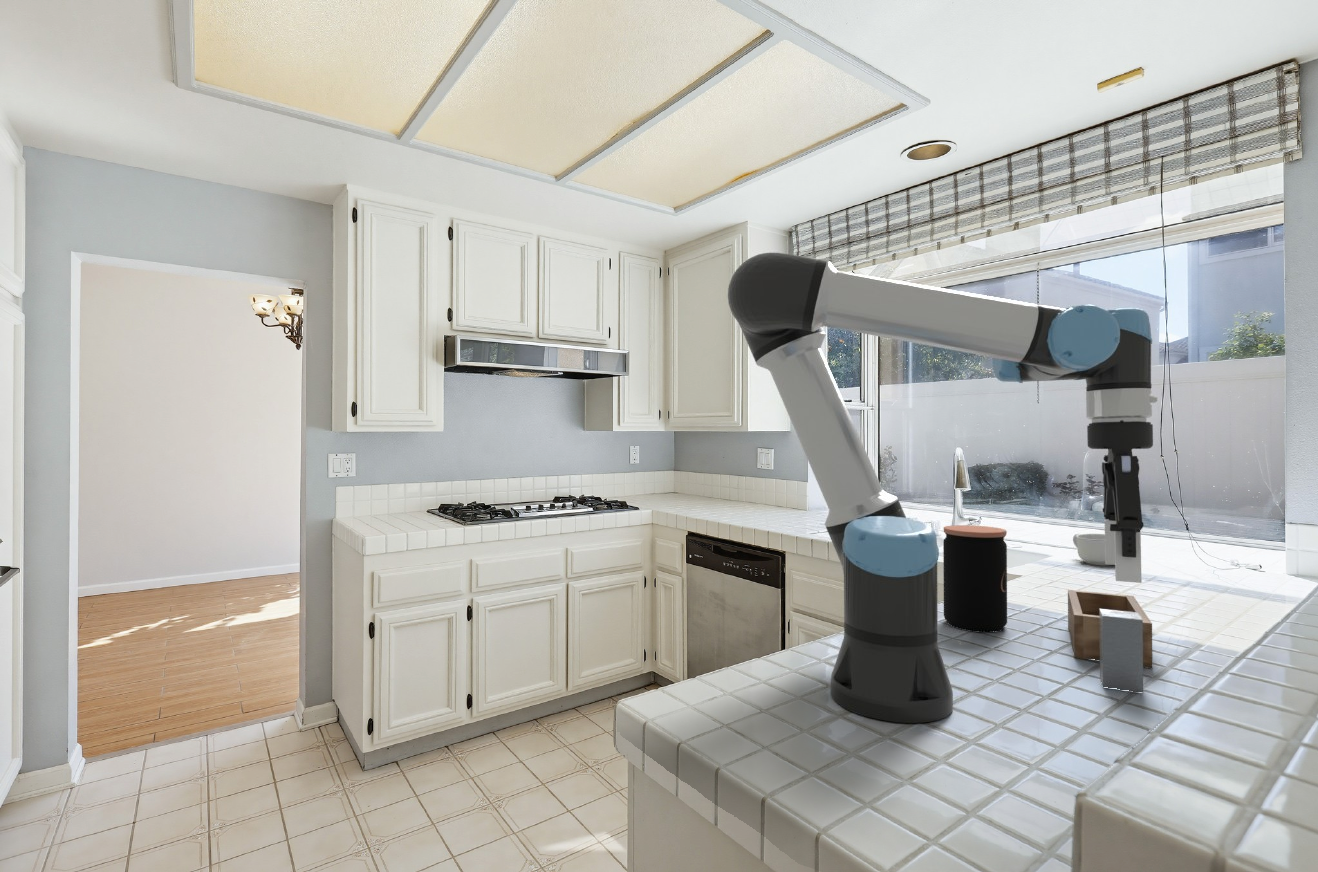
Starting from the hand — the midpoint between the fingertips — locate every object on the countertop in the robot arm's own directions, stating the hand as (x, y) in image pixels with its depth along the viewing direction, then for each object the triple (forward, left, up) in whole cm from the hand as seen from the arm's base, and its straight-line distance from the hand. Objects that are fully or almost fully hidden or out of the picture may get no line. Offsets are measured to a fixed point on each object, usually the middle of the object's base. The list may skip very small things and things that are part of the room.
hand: (1122, 572), depth 91 cm
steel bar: (0, 0, -16) cm, 16 cm away
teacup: (+5, +112, -16) cm, 114 cm away
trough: (0, +21, -16) cm, 26 cm away
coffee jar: (-20, +23, -16) cm, 35 cm away
